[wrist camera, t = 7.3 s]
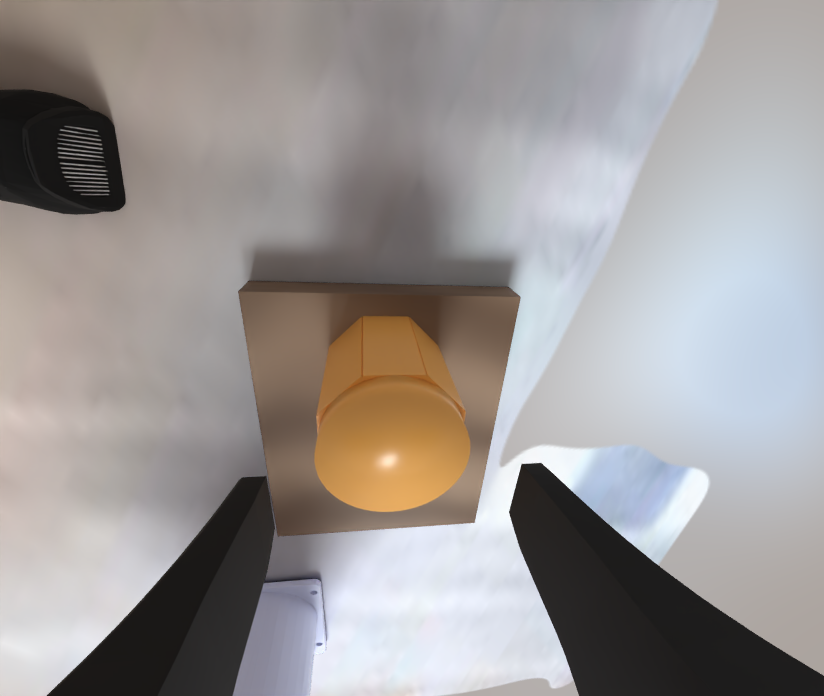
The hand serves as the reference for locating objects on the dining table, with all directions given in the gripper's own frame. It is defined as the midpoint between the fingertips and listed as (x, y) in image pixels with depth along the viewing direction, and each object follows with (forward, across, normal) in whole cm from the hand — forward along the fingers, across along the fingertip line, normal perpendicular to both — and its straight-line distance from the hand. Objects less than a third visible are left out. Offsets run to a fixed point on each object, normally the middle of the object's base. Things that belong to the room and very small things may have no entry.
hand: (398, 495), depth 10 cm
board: (+9, 0, +4) cm, 10 cm away
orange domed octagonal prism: (+7, 0, 0) cm, 7 cm away
